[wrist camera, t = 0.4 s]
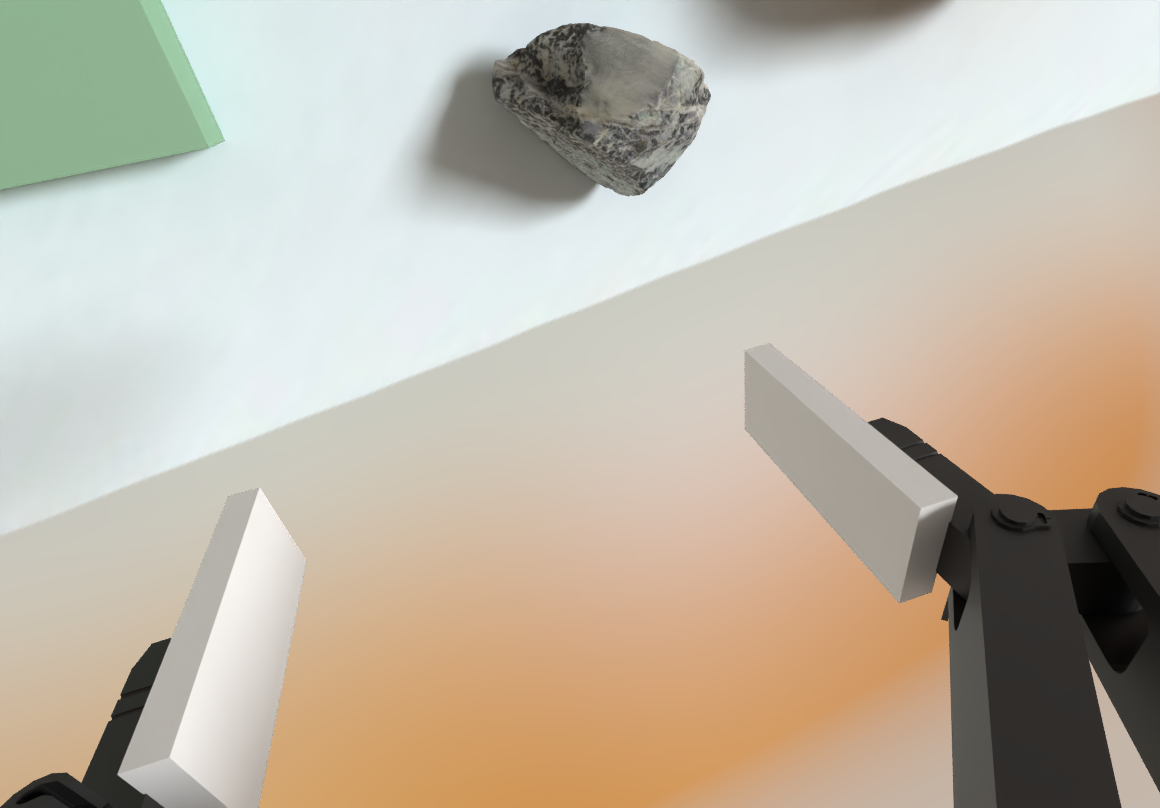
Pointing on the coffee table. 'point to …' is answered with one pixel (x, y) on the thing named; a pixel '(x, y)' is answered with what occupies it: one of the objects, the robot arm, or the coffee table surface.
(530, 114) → the stone
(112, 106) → the green
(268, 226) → the coffee table surface
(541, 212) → the coffee table surface
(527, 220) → the coffee table surface
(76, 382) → the coffee table surface
